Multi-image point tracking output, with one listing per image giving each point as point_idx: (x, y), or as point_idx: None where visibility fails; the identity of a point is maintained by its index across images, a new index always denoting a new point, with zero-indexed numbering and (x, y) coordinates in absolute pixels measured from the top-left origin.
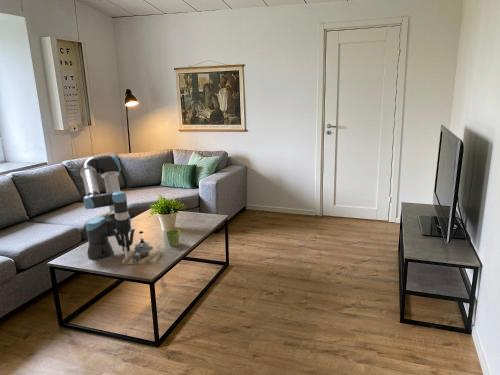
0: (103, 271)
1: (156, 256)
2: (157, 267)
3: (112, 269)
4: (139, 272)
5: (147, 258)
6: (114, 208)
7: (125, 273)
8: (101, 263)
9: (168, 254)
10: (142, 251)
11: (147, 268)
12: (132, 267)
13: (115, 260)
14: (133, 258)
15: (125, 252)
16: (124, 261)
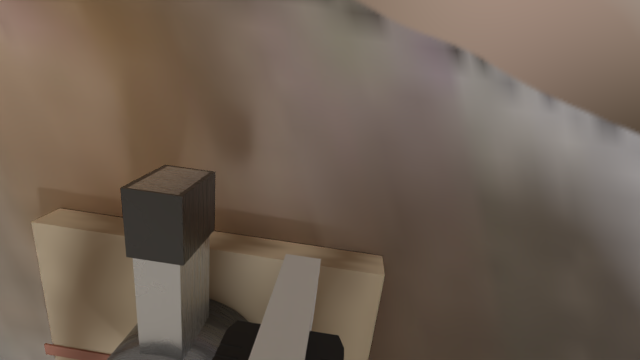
0: (566, 111)
1: (57, 306)
2: (4, 128)
3: (465, 147)
4: (139, 33)
5: (127, 281)
6: None
7: (289, 25)
8: (611, 300)
9: (26, 354)
10: (125, 354)
11: (92, 119)
12: (255, 163)
13: (470, 335)
14: (176, 187)
15: (295, 305)
16: (357, 267)
